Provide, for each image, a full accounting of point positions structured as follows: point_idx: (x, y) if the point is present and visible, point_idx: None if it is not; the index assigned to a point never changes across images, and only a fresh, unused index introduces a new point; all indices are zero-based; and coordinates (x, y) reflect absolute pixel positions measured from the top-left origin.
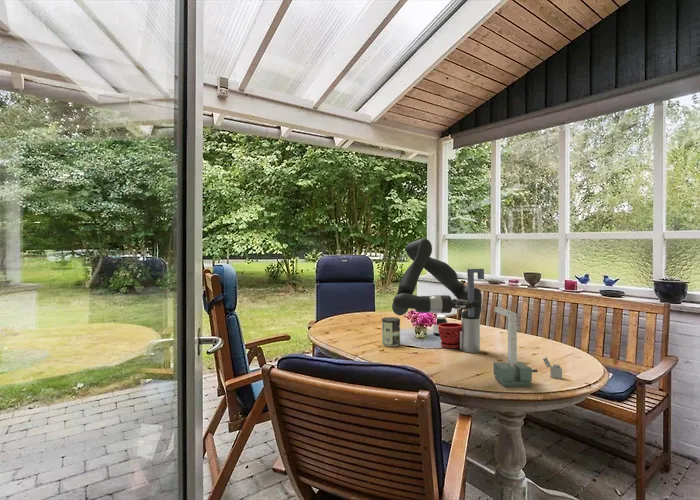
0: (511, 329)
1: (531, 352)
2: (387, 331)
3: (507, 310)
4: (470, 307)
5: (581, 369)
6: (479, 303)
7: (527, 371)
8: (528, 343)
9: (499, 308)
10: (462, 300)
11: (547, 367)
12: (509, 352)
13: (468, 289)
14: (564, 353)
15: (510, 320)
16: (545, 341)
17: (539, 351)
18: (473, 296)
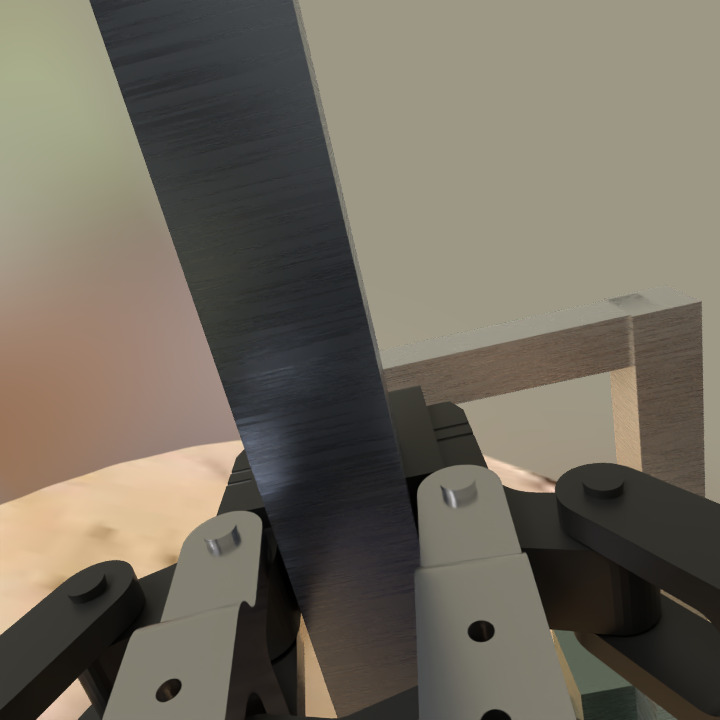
0: (701, 453)
1: (146, 564)
2: None
3: (507, 326)
4: (668, 605)
5: None
6: (452, 407)
7: None
8: (31, 549)
9: (385, 365)
10: (421, 653)
11: None
12: None
13: (227, 148)
14: (202, 477)
15: (697, 376)
16: (48, 497)
17: (147, 536)
18: (371, 322)
